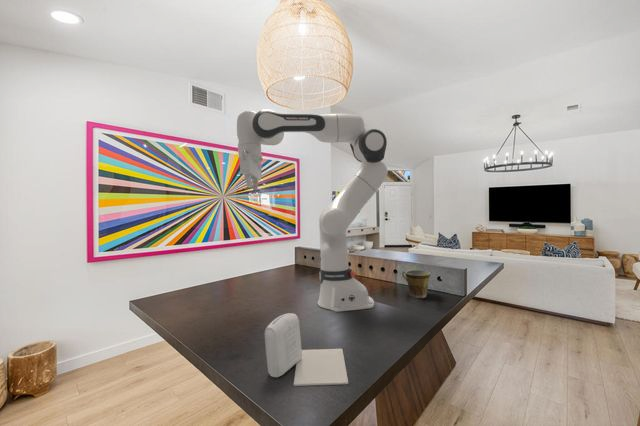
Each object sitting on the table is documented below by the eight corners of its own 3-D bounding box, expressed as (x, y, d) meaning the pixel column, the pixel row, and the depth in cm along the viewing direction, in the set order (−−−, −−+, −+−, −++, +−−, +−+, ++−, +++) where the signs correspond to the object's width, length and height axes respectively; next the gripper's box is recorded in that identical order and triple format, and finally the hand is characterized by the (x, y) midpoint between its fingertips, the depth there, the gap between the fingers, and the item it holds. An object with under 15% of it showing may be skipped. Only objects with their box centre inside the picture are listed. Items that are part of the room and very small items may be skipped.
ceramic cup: (435, 296, 121) (434, 272, 121) (420, 301, 115) (420, 276, 115) (410, 289, 132) (409, 267, 132) (395, 293, 126) (394, 271, 126)
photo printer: (291, 354, 76) (287, 308, 75) (304, 357, 73) (300, 309, 73) (265, 375, 67) (260, 323, 67) (279, 380, 65) (274, 326, 64)
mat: (342, 350, 78) (342, 348, 78) (348, 384, 63) (348, 382, 63) (298, 351, 78) (298, 350, 78) (293, 385, 63) (293, 384, 63)
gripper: (251, 146, 102) (254, 185, 102) (263, 158, 122) (265, 190, 122) (234, 148, 102) (236, 186, 102) (248, 159, 122) (250, 191, 122)
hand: (252, 188), depth 112 cm, fingers open, 8 cm apart
